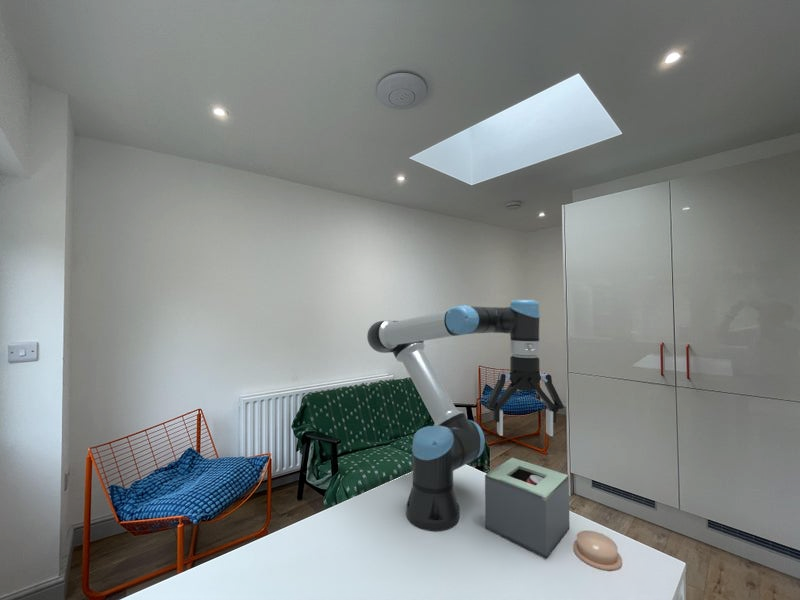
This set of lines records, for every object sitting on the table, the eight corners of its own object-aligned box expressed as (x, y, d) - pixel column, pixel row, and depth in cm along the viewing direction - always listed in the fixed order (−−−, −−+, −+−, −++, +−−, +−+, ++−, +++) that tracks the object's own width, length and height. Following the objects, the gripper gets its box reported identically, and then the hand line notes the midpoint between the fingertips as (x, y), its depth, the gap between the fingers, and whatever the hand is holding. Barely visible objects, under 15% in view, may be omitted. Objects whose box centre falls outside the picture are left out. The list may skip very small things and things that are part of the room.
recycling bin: (485, 528, 89) (485, 475, 90) (512, 504, 101) (512, 457, 102) (546, 559, 78) (545, 497, 79) (569, 528, 90) (568, 475, 90)
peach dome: (567, 556, 80) (567, 541, 80) (580, 536, 87) (580, 523, 87) (616, 579, 73) (615, 563, 73) (626, 556, 80) (625, 541, 80)
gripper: (483, 357, 88) (482, 438, 87) (577, 358, 88) (577, 439, 88) (476, 353, 96) (475, 428, 95) (562, 354, 96) (563, 430, 95)
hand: (524, 434), depth 91 cm, fingers open, 13 cm apart
